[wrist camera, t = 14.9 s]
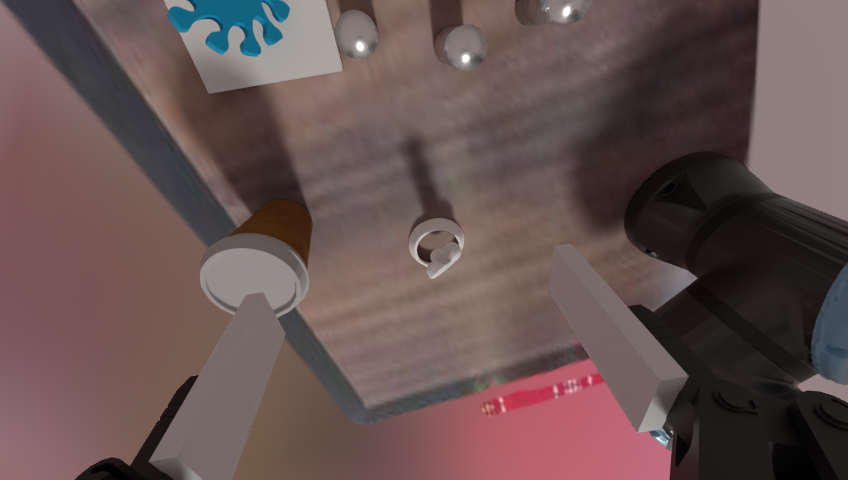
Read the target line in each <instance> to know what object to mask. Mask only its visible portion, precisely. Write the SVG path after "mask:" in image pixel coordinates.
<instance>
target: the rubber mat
mask: <svg viewBox="0 0 848 480" xmlns="http://www.w3.org/2000/svg"><path fill="white" fill-rule="evenodd" d="M280 1H283V2H285V3H286V4H287V5H288V6H289V7H290V12H289V15H288V17H287V18H286V20H284V21H283V22H282V23H280V22H278V21H277V20H276V19H275V18H274V17H273V15H272V12H271V10H270V8H269V6H268V5H267V4H265V3H263V2H262V6H263V9H264V11H265V13H266V15H267V17H268V19H269V20H270V21H271V23H272V24H273V25H274V26H275V27H276V28H278V29H279V30H280V31H281V33H282V35H283V38H282V39H281V40H280V41H278V42H277V43H276V44H274V45H270V46H269V45H267V44H266V42H265V41H264V39H263V27H262V25H261V24H260V23H259V22H258V21H257V20H253V32H254V35H255V38H256V40H257V42H258V43H259V45H260V47H261V54H260V55H258V56H257V57H251V56H246V55H243V54H242V53H241V51H240V44H241V42H242V41H243V40H244V39H245V34H244V32H243V30H242V29H241V28H239V27H237V26H233V27H231V29H230V30H229V33H228V43H229V48H228V50H227V51H226V52H225V53H224V54H223V55H221V54H219V53H217V52H215V51H214V50H212V49H211V48H209V47H208V46H207V45H206V43H205V41H206V38H207V37H208V35H209V34H210V33H212V32H217V31H220V27H219V25H218V24H217V23H216V22H215V21H213V20H211V19H203V20H198V21H196V22H194V23H193V24H192V26H191V28H190V29H189V30H188V32H185V33H181V32H179V33H180V35H181V37H182V39H183V41H184V43H185V45H186V47H187V49H188V52H189V54H190V56H191V58H192V60H193V62H194V64H195V66H196V68H197V70H198V72H199V74H200V77H201V79H202V81H203V83H204V85H205V87H206V89H207V91H208V93H209V94H211V93H217V92H223V91H229V90H234V89H240V88H246V87H252V86H257V85H263V84H269V83H275V82H280V81H286V80H292V79H298V78H304V77H309V76H315V75H321V74H327V73H332V72H338V71H343V70H344V69H343V65H342V61H341V57H340V53H339V49H338V45H337V41H336V37H335V33H334V29H333V25H332V21H331V17H330V13H329V9H328V5H327V1H326V0H280ZM164 2H165V4H166V6H167V8H168V10H169V9H170V8H171V7H173V6H177V7H181V8H183V9H186V10H188V11H194V8H193V6H192V4H191V3H190V2H189V1H187V0H164Z"/></svg>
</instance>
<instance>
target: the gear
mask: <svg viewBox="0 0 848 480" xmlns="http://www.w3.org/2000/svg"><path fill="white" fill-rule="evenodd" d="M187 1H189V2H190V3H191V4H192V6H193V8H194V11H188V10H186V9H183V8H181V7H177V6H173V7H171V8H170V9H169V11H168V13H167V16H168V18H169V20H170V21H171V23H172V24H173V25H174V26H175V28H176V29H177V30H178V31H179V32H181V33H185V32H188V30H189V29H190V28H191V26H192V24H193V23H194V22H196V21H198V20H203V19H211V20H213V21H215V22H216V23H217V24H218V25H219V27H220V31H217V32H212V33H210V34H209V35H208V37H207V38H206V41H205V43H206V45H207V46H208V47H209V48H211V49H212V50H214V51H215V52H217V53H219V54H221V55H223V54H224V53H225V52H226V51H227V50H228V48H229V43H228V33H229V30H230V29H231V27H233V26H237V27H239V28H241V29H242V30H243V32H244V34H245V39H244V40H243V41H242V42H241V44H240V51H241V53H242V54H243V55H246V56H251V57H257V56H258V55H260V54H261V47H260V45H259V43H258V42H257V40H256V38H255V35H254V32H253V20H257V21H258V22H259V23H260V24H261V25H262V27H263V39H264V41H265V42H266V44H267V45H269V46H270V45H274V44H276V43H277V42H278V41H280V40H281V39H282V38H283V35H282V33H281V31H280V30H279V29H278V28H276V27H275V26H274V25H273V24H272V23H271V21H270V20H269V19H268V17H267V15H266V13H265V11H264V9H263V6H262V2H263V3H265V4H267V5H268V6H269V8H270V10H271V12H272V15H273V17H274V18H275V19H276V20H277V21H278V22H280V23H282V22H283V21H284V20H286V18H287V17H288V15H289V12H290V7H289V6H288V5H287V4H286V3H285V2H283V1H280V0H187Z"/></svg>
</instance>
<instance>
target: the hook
mask: <svg viewBox="0 0 848 480" xmlns="http://www.w3.org/2000/svg"><path fill="white" fill-rule="evenodd" d="M433 231H446V232H449V233H451V234H453V235H454V236H455V237H456V238H457V240H458V243H459V245H458V244H457V243H454V242H449V243H447V244H446V245H445V246H444V247H443V248H442V249H440V248H437V249H434V250H433V251H432V253H431V255H430V258H431V261H432V262H431V263H429V262H425V261H423V260H422V259H420V258H419V256H418V254H417V246H418V243H419V241H420V240H421V239H422V238H423V237H424V236H425V235H427V234H428V233H430V232H433ZM463 246H464V234H463V232H462V230H461V228H460V227H459V226H458V225H457V224H456V223H454V222H453V221H451V220H448V219H444V218H434V219H429V220H426V221H424V222H422V223H421V224H419V225H418V226H417V227H416V228H415V229H414V230H413V231H412V233H411V235H410V237H409V250H410V252H411V254H412V256H413V257H414V258H415V259H416V260H417V261H418V262H419V263H420V264H422V265H424V266H426V267H427V269H426V270H427V273H428V275H429V277H430V278H431V279H433V278H436V277H437V276H438V275H440V274H441V273H442V272H444V271H445V270H447V269H448V268H449V267H450V266H451V265H452V264H453V263H454V262H455V261H456V260H457V259H459V258H460V256H461V252H462V249H463Z"/></svg>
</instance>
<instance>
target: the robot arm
mask: <svg viewBox="0 0 848 480" xmlns="http://www.w3.org/2000/svg"><path fill="white" fill-rule="evenodd" d="M625 232H626V235H627V238H628V239H629V241H630V242H631V243H632V244H633V245H634V246H636V247H637V248H638V249H639V250H640V251H642V252H643V253H644V254H646V255H648V256H650V257H653V258H656V259H658V260H661V261H664V262H667V263H669V264H672V265H675V266H678V267H680V268H683V269H686V270H688V271H689V272H691V273H692V274H693V275H695V276H696V277H697V278H698V279H697V280H695V281H694V282H693V283H692V284H690V285H689V286H688V287H686V288H685V289H683V290H682V291H681V292H679V293H678V294H677V295H675V296H674V297H673V298H671V299H670V300H669V301H667V302H666V303H665V304H663V305H662V306H661V307H659V308H658V309H657V310H655V311H654V312H652V311H650V310H649V309H647V308H645V307H644V306H642V305H634V306H626V305H625V304H624V303H623V301H622V300H621V299H620V298H619V297H618V296H617V295H616V294H615V292H614V291H613V290H612V289H611V288H610V287H609V286H608V285H607V283H606V282H605V281H604V280H603V279H602V278H601V277H600V276H599V274H598V273H597V272H596V271H595V270H594V269H593V268H592V267H591V265H590V264H589V263H588V262H587V261H586V260H585V259H584V258H583V256H582V255H581V254H580V253H579V252H578V251H577V250H576V249H575V247H574V246H573V245H572V244H571V243H569V244H563V245H557V246H554V249H553V258H552V268H551V277H550V287H549V293H550V295H551V296H552V298H553V299H554V301H555V303H556V304H557V306H558V307H559V309H560V311H561V312H562V314H563V315H564V317H565V319H566V320H567V322H568V323H569V325H570V327H571V328H572V330H573V331H574V333H575V335H576V336H577V338H578V339H579V341H580V343H581V344H582V346H583V347H584V349H585V351H586V352H587V354H588V355H589V357H590V359H591V360H592V362H593V363H594V365H595V366H596V368H597V370H598V371H599V373H600V374H601V376H602V378H603V379H604V381H605V382H606V384H607V386H608V387H609V389H610V390H611V392H612V394H613V395H614V397H615V398H616V400H617V402H618V403H619V405H620V406H621V408H622V410H623V411H624V413H625V414H626V416H627V418H628V419H629V421H630V422H631V424H632V426H633V427H634V429H635V430H636V432H637V433H640V432H646V431H649V432H650V434H651V436H652V437H653V438H654V439H655V440H657V441H658V442H659V443H661V444H662V445H664V446H666V448H667V449H669V450H671V449H672V454H671V468H670V480H848V403H847V402H845V401H843V400H841V399H839V398H837V397H835V396H832V395H829V394H826V393H822V392H819V391H805V392H802V391H801V390H800V389H799V388H798V387H797V385H798V384H799V383H802V382H803V381H805V380H807V379H809V378H811V377H813V376H814V375H816V374H818V373H819V374H820V375H821V376H822V377H823V378H825V379H828V380H832V381H834V382H836V383H839V384H843V385H848V222H847V221H845V220H842V219H839V218H837V217H834V216H832V215H829V214H827V213H824V212H822V211H819V210H816V209H814V208H812V207H809V206H806V205H804V204H801V203H799V202H796V201H794V200H791V199H788V198H786V197H783V196H781V195H778V194H776V193H774V192H773V191H771V190H770V189H769V188H768V187H767V186H766V185H765V184H764V183H763V182H762V181H761V180H760V179H759V178H757V177H756V176H755V175H754V174H753V173H752V172H750V171H749V170H748V169H747V167H746V166H745V165H744V164H742V163H741V162H739V161H737V160H735V159H733V158H730V157H727V156H724V155H722V154H718V153H714V152H700V153H694V154H690V155H687V156H684V157H682V158H679V159H677V160H675V161H673V162H671V163H669V164H668V165H666V166H665V167H663V168H662V169H660V170H659V171H658V172H656V173H655V174H654V175H653V176H652V177H650V178H649V179H648V180H647V181H646V182H645V183H644V185H643V186H642V187H641V188H640V189H639V191H638V192H637V193H636V195H635V196H634V198H633V199H632V201H631V203H630V205H629V207H628V210H627V213H626V217H625ZM285 335H286V334H285V332H284V330H283V328H282V326H281V324H280V322H279V321H278V319H277V317H276V315H275V313H274V311H273V310H272V308H271V306H270V304H269V302H268V300H267V299H266V297H265V295H264V293H263V292H261V293H254V294H248V295H246V296H245V298H244V299H243V301H242V303H241V304H240V306H239V308H238V309H237V311H236V313H235V315H234V316H233V318H232V320H231V321H230V323H229V325H228V327H227V328H226V330H225V332H224V333H223V335H222V337H221V339H220V340H219V342H218V344H217V345H216V347H215V349H214V351H213V352H212V354H211V356H210V357H209V359H208V361H207V363H206V364H205V366H204V368H203V369H202V371H201V373H200V375H197V376H191V377H190V378H189V379H188V380H187V381H186V382H185V383H184V384H183V385H182V386H181V387H180V388H179V389H178V390H177V391H176V393H175V395H174V396H173V398H172V399H171V401H170V402H169V404H168V408H166V409H165V411H164V412H163V414H162V415H161V417H160V421H158V422H157V423H156V425H155V427H154V428H153V430H152V431H151V433H150V435H149V436H148V438H147V439H146V441H145V443H144V444H143V446H142V447H141V449H140V451H139V452H138V454H137V456H136V457H135V459H134V460H133V462H132V464H131V465H130V466H129V465H127V464H126V463H124V462H123V461H122V460H120V459H117V458H108V459H104V460H101V461H100V462H98V463H96V464H94V465H92V466H90V467H89V468H88V469H87V470H85V471H84V472H83V473H82V474H80V475H79V476H78V477H77V478H76V479H75V480H232V478H233V475H234V473H235V470H236V467H237V464H238V462H239V459H240V456H241V454H242V451H243V448H244V445H245V443H246V440H247V437H248V435H249V432H250V429H251V427H252V424H253V421H254V418H255V416H256V413H257V410H258V407H259V405H260V402H261V399H262V397H263V394H264V391H265V389H266V386H267V383H268V381H269V378H270V375H271V372H272V370H273V367H274V364H275V362H276V359H277V356H278V353H279V351H280V348H281V345H282V342H283V340H284V337H285Z"/></svg>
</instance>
